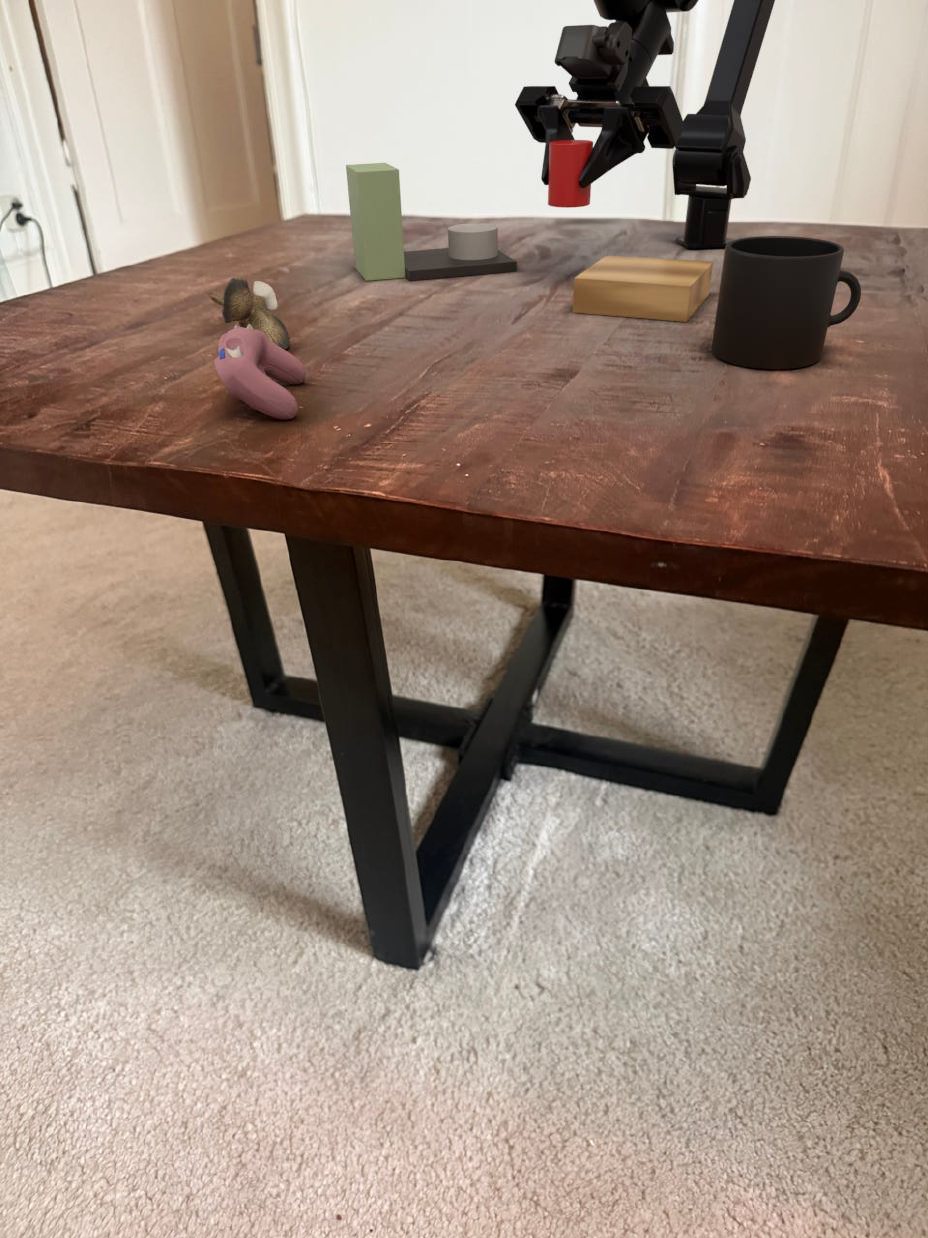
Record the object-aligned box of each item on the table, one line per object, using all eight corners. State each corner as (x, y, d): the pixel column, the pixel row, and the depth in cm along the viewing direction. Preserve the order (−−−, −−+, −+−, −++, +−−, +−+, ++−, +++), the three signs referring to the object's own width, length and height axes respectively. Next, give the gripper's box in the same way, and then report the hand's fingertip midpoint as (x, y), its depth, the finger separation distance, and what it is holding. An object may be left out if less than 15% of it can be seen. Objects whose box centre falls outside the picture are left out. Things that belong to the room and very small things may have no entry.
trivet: (604, 287, 98) (606, 255, 96) (708, 294, 94) (713, 261, 92) (572, 312, 89) (574, 277, 87) (686, 322, 85) (690, 285, 83)
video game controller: (267, 400, 73) (216, 328, 69) (311, 374, 72) (262, 300, 69) (253, 443, 65) (195, 365, 61) (302, 415, 64) (247, 333, 60)
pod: (539, 204, 93) (540, 142, 89) (569, 199, 95) (571, 138, 92) (568, 208, 90) (570, 144, 86) (598, 203, 92) (602, 140, 89)
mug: (867, 369, 71) (895, 255, 66) (724, 371, 72) (741, 258, 66) (829, 337, 79) (852, 233, 74) (701, 340, 79) (714, 236, 74)
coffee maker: (489, 253, 116) (488, 154, 109) (517, 271, 106) (518, 163, 99) (352, 265, 112) (343, 163, 105) (369, 284, 102) (359, 173, 95)
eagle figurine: (190, 329, 83) (206, 333, 75) (216, 259, 82) (235, 256, 74) (263, 362, 87) (285, 369, 79) (288, 296, 86) (313, 296, 78)
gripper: (526, -4, 89) (460, 124, 89) (683, -16, 79) (609, 129, 78) (567, 80, 99) (507, 197, 98) (712, 80, 88) (646, 210, 88)
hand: (562, 183), depth 90 cm, fingers closed on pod, 4 cm apart
